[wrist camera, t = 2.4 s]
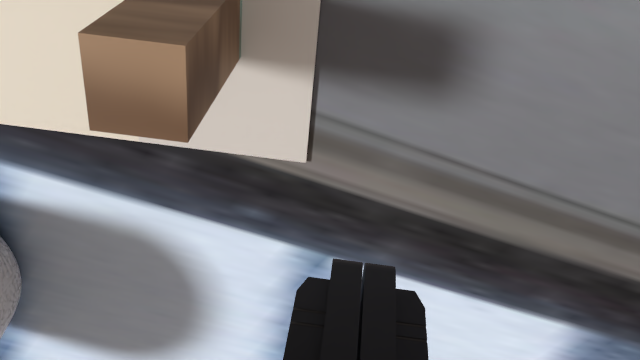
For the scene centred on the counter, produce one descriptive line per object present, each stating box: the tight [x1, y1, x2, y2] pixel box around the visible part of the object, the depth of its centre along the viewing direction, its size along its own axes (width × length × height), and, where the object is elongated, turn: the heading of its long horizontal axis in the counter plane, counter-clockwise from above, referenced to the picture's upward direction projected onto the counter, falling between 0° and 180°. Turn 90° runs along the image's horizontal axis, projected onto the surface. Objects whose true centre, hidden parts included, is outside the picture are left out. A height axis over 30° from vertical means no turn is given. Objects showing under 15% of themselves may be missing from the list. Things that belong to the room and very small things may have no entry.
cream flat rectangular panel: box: [0, 0, 321, 163], centre depth 32 cm, size 16×20×1 cm
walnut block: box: [78, 0, 242, 143], centre depth 27 cm, size 4×4×10 cm
